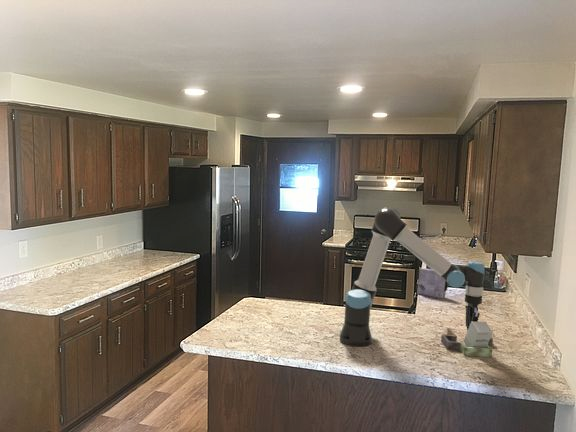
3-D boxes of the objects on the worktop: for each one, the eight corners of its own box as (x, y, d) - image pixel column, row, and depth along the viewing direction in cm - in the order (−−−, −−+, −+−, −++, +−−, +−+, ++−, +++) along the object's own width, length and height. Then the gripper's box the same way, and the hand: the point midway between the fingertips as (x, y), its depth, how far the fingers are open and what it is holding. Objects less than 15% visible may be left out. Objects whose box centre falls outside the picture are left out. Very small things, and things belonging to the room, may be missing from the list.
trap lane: (450, 354, 217) (451, 346, 216) (435, 334, 244) (435, 327, 243) (504, 357, 215) (505, 350, 215) (483, 337, 243) (484, 330, 242)
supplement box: (469, 352, 220) (477, 332, 214) (463, 341, 226) (470, 320, 220) (484, 352, 221) (493, 332, 215) (477, 341, 227) (485, 321, 221)
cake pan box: (447, 297, 320) (449, 271, 319) (445, 299, 316) (447, 272, 315) (418, 292, 331) (420, 267, 329) (416, 294, 326) (418, 268, 325)
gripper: (486, 298, 219) (482, 348, 221) (477, 291, 232) (472, 339, 234) (470, 297, 219) (465, 347, 221) (461, 290, 232) (457, 338, 234)
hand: (469, 343), depth 228 cm, fingers closed
